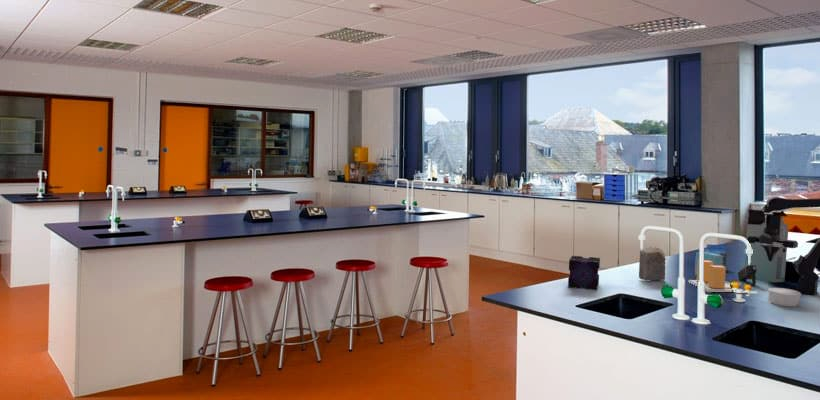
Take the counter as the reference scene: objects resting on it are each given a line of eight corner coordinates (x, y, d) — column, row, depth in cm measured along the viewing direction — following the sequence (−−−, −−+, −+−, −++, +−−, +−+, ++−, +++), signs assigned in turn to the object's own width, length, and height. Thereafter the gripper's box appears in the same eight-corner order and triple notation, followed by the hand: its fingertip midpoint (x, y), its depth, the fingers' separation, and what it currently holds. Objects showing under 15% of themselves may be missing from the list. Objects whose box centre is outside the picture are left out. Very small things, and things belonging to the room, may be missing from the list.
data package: (721, 280, 289) (723, 255, 288) (714, 281, 287) (715, 255, 286) (701, 275, 300) (702, 251, 299) (694, 275, 298) (695, 251, 297)
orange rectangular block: (719, 286, 269) (721, 265, 268) (724, 288, 265) (725, 267, 264) (708, 285, 269) (709, 265, 268) (712, 287, 265) (714, 267, 264)
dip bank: (725, 283, 282) (725, 280, 282) (748, 293, 263) (748, 290, 263) (688, 282, 282) (688, 279, 282) (708, 292, 263) (708, 289, 263)
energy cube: (567, 287, 267) (569, 259, 266) (570, 282, 278) (572, 255, 277) (596, 290, 263) (598, 262, 262) (598, 284, 274) (599, 257, 273)
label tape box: (707, 269, 317) (708, 245, 316) (704, 267, 321) (706, 244, 320) (725, 270, 315) (727, 246, 314) (723, 268, 319) (724, 244, 318)
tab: (707, 280, 280) (708, 260, 280) (711, 282, 277) (713, 262, 276) (696, 279, 281) (697, 260, 280) (700, 281, 277) (701, 261, 276)
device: (784, 282, 289) (789, 218, 286) (771, 282, 287) (776, 218, 284) (756, 274, 305) (760, 214, 302) (743, 275, 303) (747, 214, 300)
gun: (744, 292, 290) (741, 271, 294) (760, 283, 275) (756, 261, 279) (738, 292, 291) (735, 271, 294) (753, 283, 276) (750, 261, 279)
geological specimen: (646, 282, 281) (647, 249, 280) (637, 279, 287) (638, 247, 285) (665, 281, 284) (667, 248, 283) (656, 278, 290) (657, 246, 289)
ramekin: (796, 309, 239) (797, 295, 238) (764, 303, 246) (765, 290, 246) (802, 304, 247) (803, 291, 247) (770, 299, 255) (771, 286, 254)
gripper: (742, 224, 272) (740, 259, 273) (789, 229, 257) (786, 266, 259) (753, 223, 279) (750, 257, 280) (799, 228, 264) (796, 264, 266)
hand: (770, 261), depth 271 cm, fingers closed
